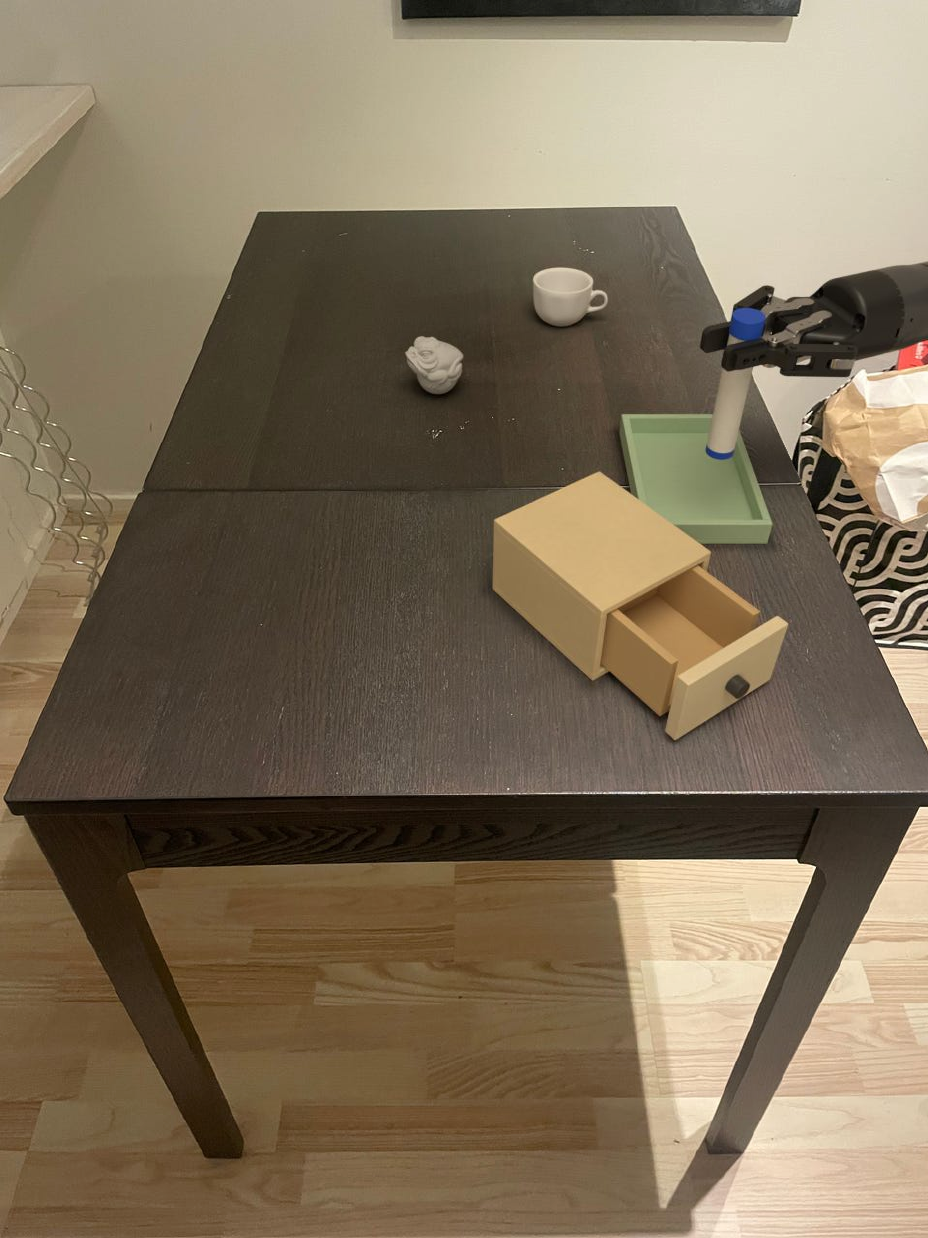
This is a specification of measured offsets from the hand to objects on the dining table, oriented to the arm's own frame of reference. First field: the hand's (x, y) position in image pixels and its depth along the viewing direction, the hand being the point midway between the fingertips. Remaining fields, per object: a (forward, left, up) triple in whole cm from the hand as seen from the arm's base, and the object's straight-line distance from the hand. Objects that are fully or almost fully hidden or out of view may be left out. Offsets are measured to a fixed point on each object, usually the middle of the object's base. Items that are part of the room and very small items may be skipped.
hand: (714, 349), depth 82 cm
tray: (+2, -8, -20) cm, 21 cm away
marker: (-2, -2, -11) cm, 12 cm away
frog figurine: (+35, -12, -20) cm, 42 cm away
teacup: (+28, -36, -20) cm, 49 cm away
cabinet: (+4, +14, -20) cm, 25 cm away
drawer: (-6, +19, -19) cm, 28 cm away
